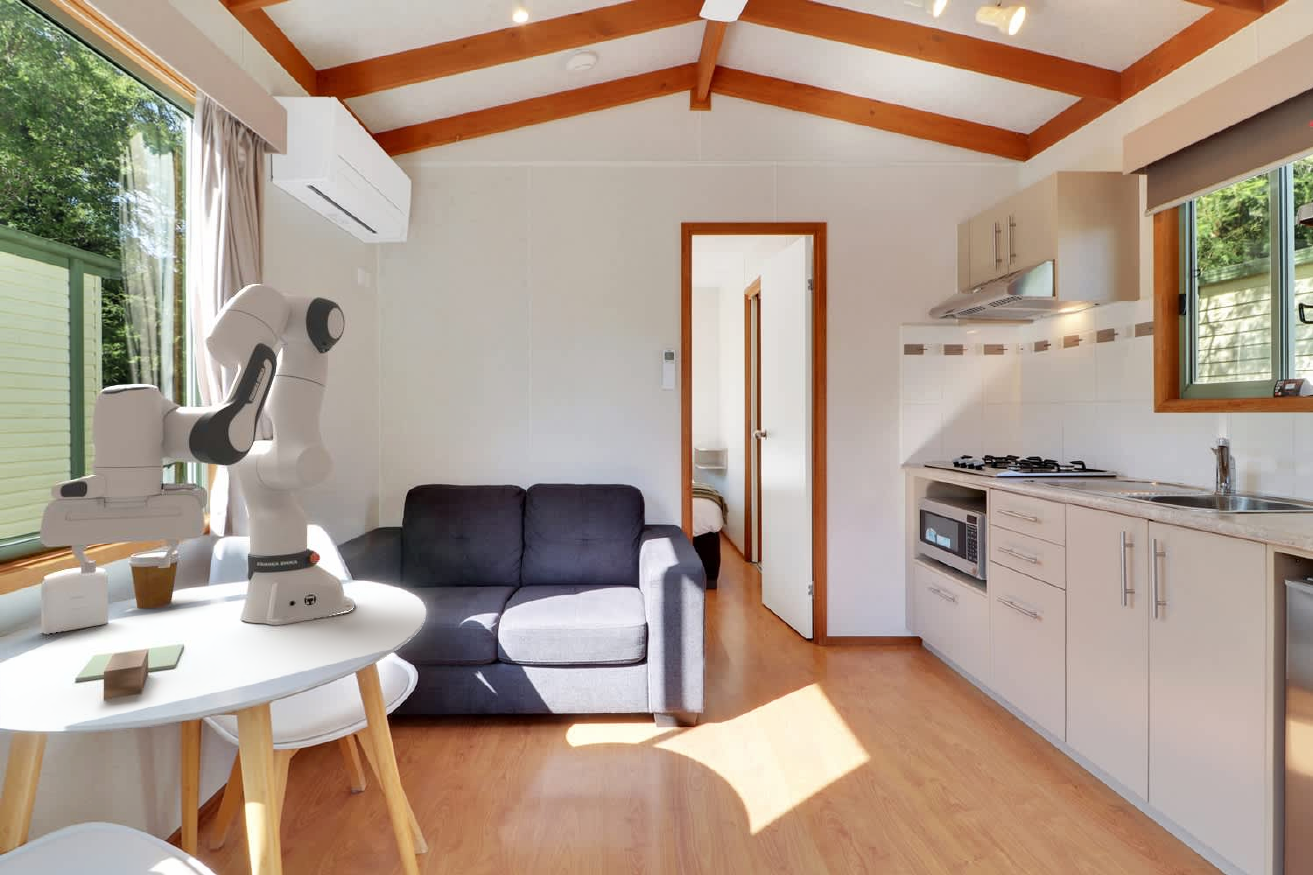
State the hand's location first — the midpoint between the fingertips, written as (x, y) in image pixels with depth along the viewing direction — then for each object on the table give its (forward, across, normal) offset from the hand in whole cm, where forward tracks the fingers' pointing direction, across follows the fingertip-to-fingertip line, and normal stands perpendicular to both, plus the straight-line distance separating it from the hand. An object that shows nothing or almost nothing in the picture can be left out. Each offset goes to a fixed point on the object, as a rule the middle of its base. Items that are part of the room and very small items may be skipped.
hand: (127, 570), depth 102 cm
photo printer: (+19, +15, -42) cm, 49 cm away
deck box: (+19, 0, 0) cm, 19 cm away
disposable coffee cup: (+19, +4, -56) cm, 59 cm away
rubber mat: (+19, +1, -12) cm, 22 cm away
